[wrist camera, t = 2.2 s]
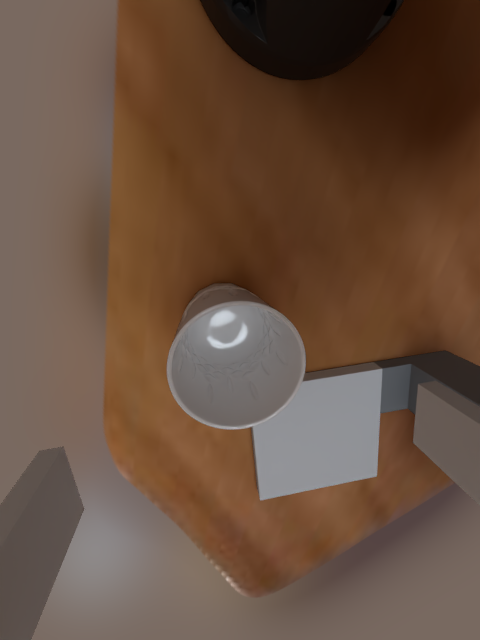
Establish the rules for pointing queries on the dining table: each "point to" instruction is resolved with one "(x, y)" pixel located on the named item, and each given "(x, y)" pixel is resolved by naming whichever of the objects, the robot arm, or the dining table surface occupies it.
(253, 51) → the robot arm
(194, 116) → the dining table surface
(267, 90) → the dining table surface
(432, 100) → the dining table surface
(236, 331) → the white cup
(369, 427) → the frame
